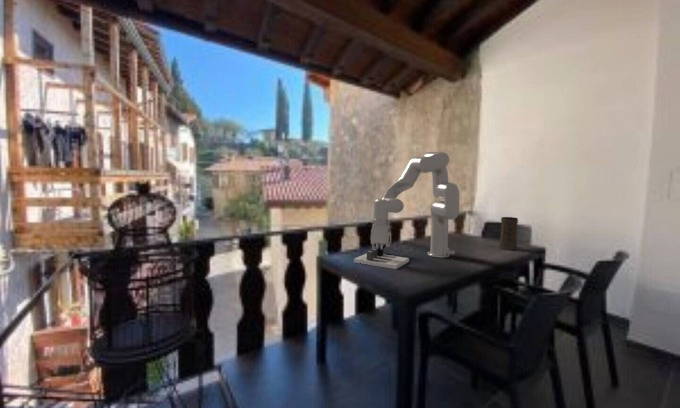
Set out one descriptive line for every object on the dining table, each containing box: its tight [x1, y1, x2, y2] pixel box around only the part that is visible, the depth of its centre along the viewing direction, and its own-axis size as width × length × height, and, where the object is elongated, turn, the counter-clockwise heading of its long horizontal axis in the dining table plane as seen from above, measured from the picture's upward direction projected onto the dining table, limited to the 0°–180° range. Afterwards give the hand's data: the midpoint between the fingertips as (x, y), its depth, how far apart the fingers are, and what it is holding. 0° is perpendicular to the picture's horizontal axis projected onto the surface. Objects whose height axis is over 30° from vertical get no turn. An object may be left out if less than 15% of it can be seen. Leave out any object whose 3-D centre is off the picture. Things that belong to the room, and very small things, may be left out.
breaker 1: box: [366, 250, 373, 260], centre depth 220 cm, size 2×3×4 cm
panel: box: [353, 252, 410, 270], centre depth 224 cm, size 24×18×2 cm
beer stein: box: [498, 216, 519, 250], centre depth 265 cm, size 15×11×20 cm
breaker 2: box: [370, 248, 377, 258], centre depth 226 cm, size 2×3×4 cm
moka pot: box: [365, 221, 393, 255], centre depth 242 cm, size 10×15×20 cm, turn 78°
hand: (380, 256), depth 224 cm, fingers closed
